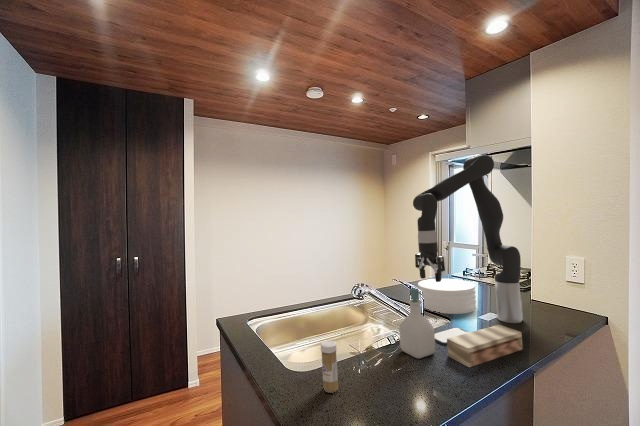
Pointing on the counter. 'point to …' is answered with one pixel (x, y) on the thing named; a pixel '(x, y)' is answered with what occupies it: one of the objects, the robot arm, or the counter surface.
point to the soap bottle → (416, 331)
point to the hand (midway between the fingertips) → (430, 279)
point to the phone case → (448, 335)
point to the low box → (484, 345)
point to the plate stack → (448, 295)
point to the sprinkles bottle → (329, 366)
